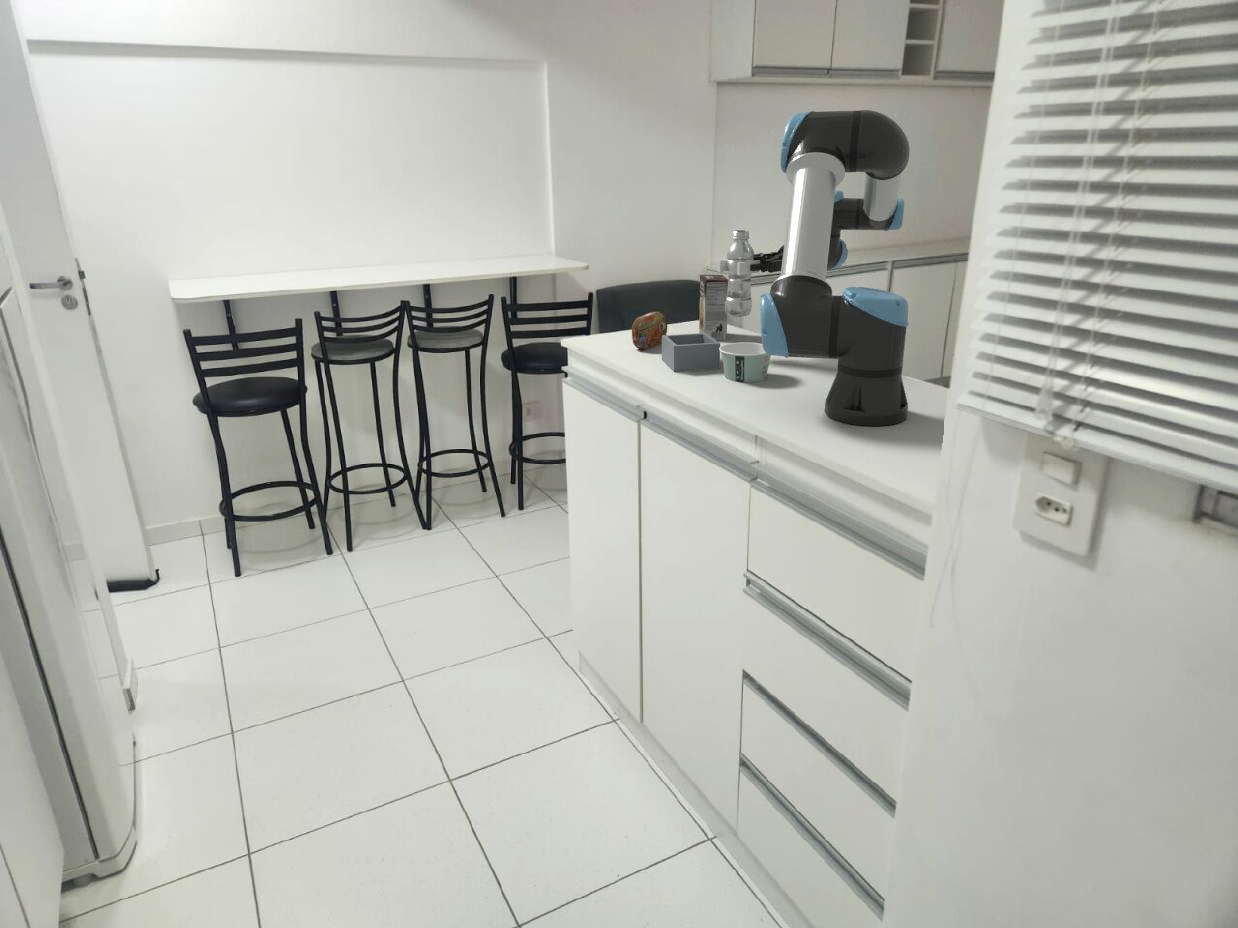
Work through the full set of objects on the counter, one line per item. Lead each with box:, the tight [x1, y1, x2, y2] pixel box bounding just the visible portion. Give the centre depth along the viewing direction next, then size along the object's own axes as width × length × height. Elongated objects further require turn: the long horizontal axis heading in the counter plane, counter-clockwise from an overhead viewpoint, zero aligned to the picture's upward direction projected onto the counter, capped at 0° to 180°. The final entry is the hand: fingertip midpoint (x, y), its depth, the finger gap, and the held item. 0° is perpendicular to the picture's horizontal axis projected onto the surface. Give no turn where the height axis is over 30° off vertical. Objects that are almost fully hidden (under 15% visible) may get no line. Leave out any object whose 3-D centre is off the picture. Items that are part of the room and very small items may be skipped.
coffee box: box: [698, 274, 729, 341], centre depth 217 cm, size 9×6×16 cm
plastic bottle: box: [725, 229, 755, 318], centre depth 190 cm, size 6×7×20 cm
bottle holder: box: [661, 332, 721, 373], centre depth 191 cm, size 12×11×6 cm
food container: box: [719, 341, 772, 383], centre depth 179 cm, size 12×12×6 cm
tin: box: [631, 311, 668, 350], centre depth 210 cm, size 15×3×8 cm, turn 148°
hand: (728, 267), depth 188 cm, fingers closed on plastic bottle, 6 cm apart
